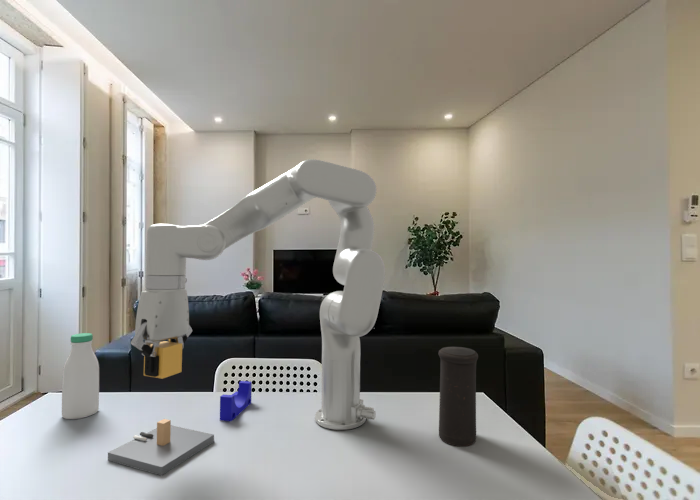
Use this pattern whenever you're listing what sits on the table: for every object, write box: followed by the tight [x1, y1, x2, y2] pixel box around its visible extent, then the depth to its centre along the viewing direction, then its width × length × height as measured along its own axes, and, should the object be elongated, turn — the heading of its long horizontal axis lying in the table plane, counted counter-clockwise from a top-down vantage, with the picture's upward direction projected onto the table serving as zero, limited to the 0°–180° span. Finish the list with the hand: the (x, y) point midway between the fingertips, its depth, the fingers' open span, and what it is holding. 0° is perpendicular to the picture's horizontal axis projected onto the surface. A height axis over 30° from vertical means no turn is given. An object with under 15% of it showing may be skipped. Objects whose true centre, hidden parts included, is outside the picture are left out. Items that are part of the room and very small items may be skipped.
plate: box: [107, 418, 215, 476], centre depth 81 cm, size 14×14×6 cm
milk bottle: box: [61, 332, 100, 420], centre depth 99 cm, size 8×8×20 cm
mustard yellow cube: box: [143, 340, 183, 380], centre depth 81 cm, size 5×5×6 cm
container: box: [438, 346, 479, 447], centre depth 88 cm, size 9×9×20 cm
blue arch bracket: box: [219, 380, 253, 422], centre depth 101 cm, size 12×4×6 cm, turn 171°
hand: (163, 370), depth 81 cm, fingers closed on mustard yellow cube, 5 cm apart
